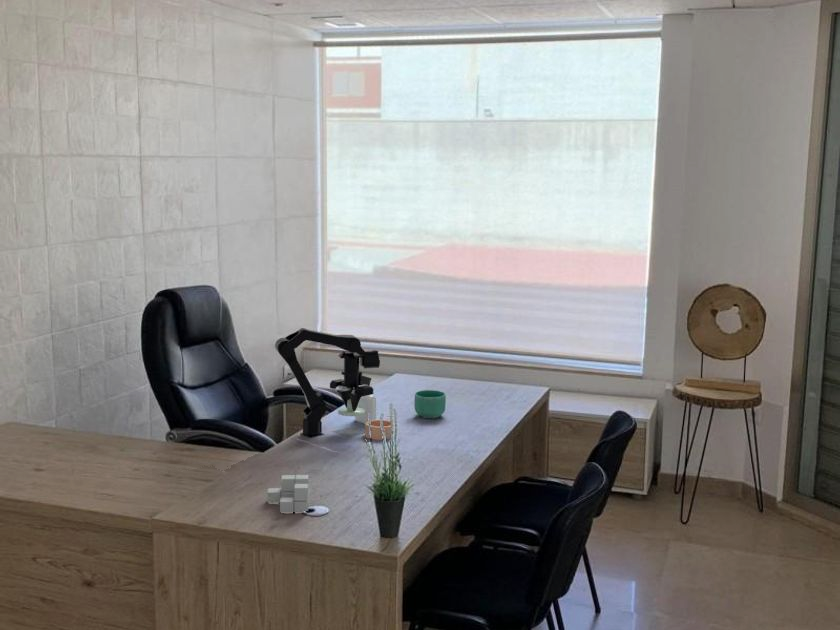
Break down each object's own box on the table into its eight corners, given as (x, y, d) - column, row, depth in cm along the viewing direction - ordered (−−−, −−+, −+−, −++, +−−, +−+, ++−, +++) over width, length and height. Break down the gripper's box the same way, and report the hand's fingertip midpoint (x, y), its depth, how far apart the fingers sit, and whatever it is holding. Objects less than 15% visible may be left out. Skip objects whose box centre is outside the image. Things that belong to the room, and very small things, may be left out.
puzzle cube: (268, 500, 284) (268, 475, 283) (308, 500, 285) (308, 474, 284) (265, 515, 272) (265, 488, 271) (307, 514, 273) (307, 488, 272)
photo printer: (353, 420, 375) (353, 390, 373) (362, 419, 378) (362, 388, 376) (368, 426, 367) (369, 395, 365) (377, 424, 370) (378, 393, 368)
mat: (349, 438, 351) (349, 437, 351) (331, 432, 357) (331, 431, 357) (369, 433, 358) (369, 432, 358) (351, 427, 365) (351, 426, 365)
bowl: (379, 442, 346) (379, 429, 345) (359, 436, 353) (359, 423, 353) (401, 436, 354) (401, 423, 353) (380, 430, 361) (380, 418, 360)
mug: (440, 421, 376) (440, 398, 375) (410, 418, 380) (410, 395, 379) (451, 411, 392) (451, 389, 391) (422, 409, 396) (422, 386, 394)
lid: (350, 417, 350) (350, 405, 349) (332, 412, 356) (332, 400, 356) (370, 413, 357) (370, 400, 356) (352, 408, 363) (352, 395, 363)
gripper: (384, 370, 353) (383, 410, 356) (351, 362, 366) (350, 401, 368) (362, 374, 345) (361, 416, 348) (329, 366, 358) (328, 406, 361)
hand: (351, 409), depth 356 cm, fingers closed on lid, 3 cm apart
